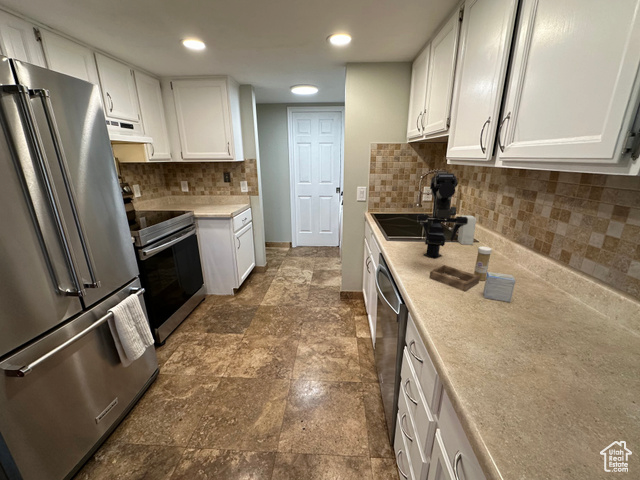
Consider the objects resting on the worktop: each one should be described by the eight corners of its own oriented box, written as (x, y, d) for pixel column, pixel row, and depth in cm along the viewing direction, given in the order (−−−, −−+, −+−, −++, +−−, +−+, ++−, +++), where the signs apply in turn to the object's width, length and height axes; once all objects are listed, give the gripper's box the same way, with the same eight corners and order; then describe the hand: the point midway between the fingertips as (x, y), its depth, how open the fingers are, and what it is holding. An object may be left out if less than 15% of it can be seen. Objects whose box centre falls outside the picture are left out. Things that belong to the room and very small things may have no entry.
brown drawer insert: (429, 278, 110) (430, 271, 109) (443, 271, 116) (444, 265, 115) (465, 291, 98) (466, 284, 98) (478, 283, 105) (479, 276, 104)
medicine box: (508, 297, 94) (513, 275, 92) (510, 303, 90) (516, 280, 88) (482, 292, 98) (486, 271, 95) (484, 298, 94) (488, 276, 91)
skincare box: (472, 245, 149) (477, 218, 144) (460, 244, 151) (464, 217, 146) (468, 240, 157) (472, 215, 152) (456, 240, 158) (460, 214, 154)
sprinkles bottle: (472, 279, 108) (477, 248, 104) (474, 275, 112) (479, 245, 108) (484, 282, 105) (490, 250, 101) (486, 278, 109) (492, 247, 105)
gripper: (419, 198, 105) (415, 237, 104) (472, 200, 98) (468, 241, 98) (418, 203, 115) (415, 238, 115) (466, 205, 109) (463, 243, 108)
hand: (439, 240), depth 109 cm, fingers open, 9 cm apart
